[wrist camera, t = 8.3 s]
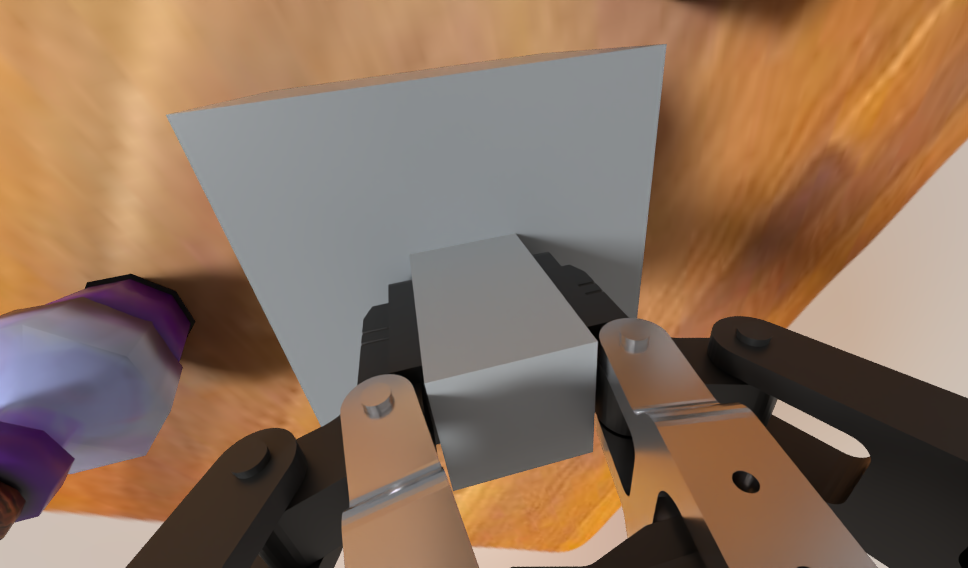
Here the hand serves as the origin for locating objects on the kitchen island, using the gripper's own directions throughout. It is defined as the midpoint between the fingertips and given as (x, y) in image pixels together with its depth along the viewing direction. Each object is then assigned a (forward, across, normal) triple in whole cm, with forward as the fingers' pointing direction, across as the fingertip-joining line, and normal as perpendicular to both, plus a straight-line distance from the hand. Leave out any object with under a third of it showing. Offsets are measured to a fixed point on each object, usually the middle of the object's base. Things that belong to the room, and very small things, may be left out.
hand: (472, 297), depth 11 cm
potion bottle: (+13, +18, +5) cm, 23 cm away
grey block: (+9, 0, 0) cm, 9 cm away
